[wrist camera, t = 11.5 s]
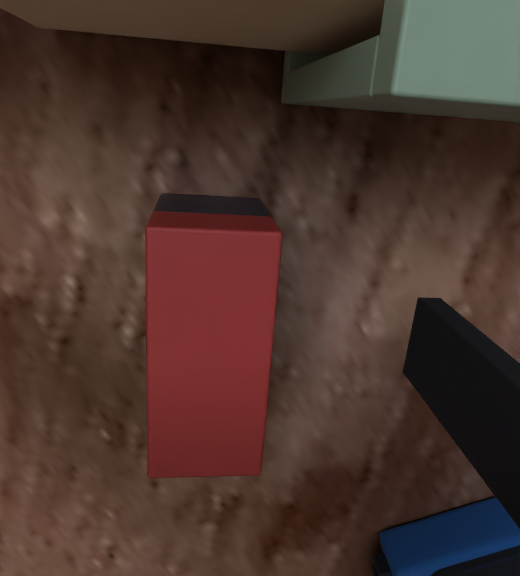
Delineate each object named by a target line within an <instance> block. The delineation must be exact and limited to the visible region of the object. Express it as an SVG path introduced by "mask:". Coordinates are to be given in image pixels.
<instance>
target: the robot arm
mask: <svg viewBox="0 0 520 576" xmlns="http://www.w3.org/2000/svg"><path fill="white" fill-rule="evenodd" d="M403 373H404V374H405V375H406V377H407V378H408V379H409V381H410V382H411V383H412V385H413V386H414V388H415V389H416V390H417V392H418V393H419V394H420V396H421V397H422V398H423V400H424V401H425V402H426V404H427V405H428V406H429V408H430V409H431V410H432V412H433V413H434V414H435V416H436V417H437V418H438V420H439V421H440V422H441V424H442V425H443V426H444V428H445V429H446V431H447V432H448V433H449V435H450V436H451V437H452V439H453V440H454V441H455V443H456V444H457V445H458V447H459V448H460V449H461V451H462V452H463V453H464V455H465V456H466V457H467V459H468V460H469V461H470V463H471V464H472V465H473V467H474V468H475V469H476V471H477V472H478V474H479V475H480V476H481V478H482V479H483V480H484V482H485V483H486V484H487V486H488V487H489V488H490V490H491V491H492V492H493V494H494V495H495V496H496V498H497V499H498V500H499V502H500V503H501V504H502V506H503V507H504V508H505V510H506V511H507V512H508V514H509V515H510V517H511V518H512V519H513V521H514V522H515V523H516V525H517V526H518V527H519V529H520V363H518V362H517V361H516V360H515V359H513V358H512V357H511V356H510V355H509V354H507V353H506V352H505V351H504V350H503V349H501V348H500V347H499V346H498V345H496V344H495V343H494V342H493V341H492V340H490V339H489V338H488V337H487V336H486V335H484V334H483V333H482V332H481V331H479V330H478V329H477V328H476V327H475V326H473V325H472V324H471V323H470V322H469V321H467V320H466V319H465V318H464V317H463V316H461V315H460V314H459V313H458V312H456V311H455V310H454V309H453V308H452V307H450V306H449V305H448V304H447V303H446V302H444V301H443V300H442V299H441V298H418V300H417V305H416V310H415V315H414V320H413V325H412V329H411V334H410V339H409V344H408V349H407V354H406V359H405V364H404V369H403Z"/></svg>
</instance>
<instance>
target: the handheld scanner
mask: <svg viewBox="0 0 520 576" xmlns="http://www.w3.org/2000/svg"><path fill="white" fill-rule="evenodd" d="M379 539H380V543H381V547H382V551H383V553H381V554H377V555H374V557H373V561H374V565H372V570H373V574H374V576H520V529H519V527H518V526H517V525H516V523H515V522H514V521H513V519H512V518H511V517H510V515H509V514H508V512H507V511H506V510H505V508H504V507H503V506H502V504H501V503H500V502H499V500H498V499H497V498H496V497H493V498H490V499H486V500H483V501H480V502H476V503H473V504H470V505H467V506H463V507H460V508H457V509H453V510H450V511H447V512H444V513H440V514H437V515H434V516H430V517H427V518H424V519H421V520H417V521H414V522H411V523H407V524H404V525H401V526H398V527H394V528H391V529H388V530H384V531H382V532H380V533H379Z"/></svg>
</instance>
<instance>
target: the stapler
mask: <svg viewBox="0 0 520 576" xmlns="http://www.w3.org/2000/svg"><path fill="white" fill-rule="evenodd" d="M145 246H146V360H147V474H148V477H149V478H168V477H209V476H250V475H260V474H261V470H262V459H263V448H264V437H265V425H266V414H267V403H268V392H269V381H270V369H271V358H272V347H273V336H274V325H275V313H276V302H277V291H278V280H279V269H280V257H281V246H282V232H281V231H280V229H279V228H278V226H277V225H276V223H275V222H274V220H273V219H272V217H271V216H270V214H269V213H268V211H267V210H266V208H265V207H264V205H263V204H262V202H261V201H260V199H258V198H241V197H222V196H203V195H184V194H165V193H163V194H161V196H160V198H159V200H158V202H157V204H156V207H155V209H154V211H153V213H152V216H151V218H150V220H149V222H148V224H147V227H146V229H145Z"/></svg>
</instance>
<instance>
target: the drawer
mask: <svg viewBox="0 0 520 576" xmlns="http://www.w3.org/2000/svg"><path fill="white" fill-rule="evenodd" d="M384 2H385V0H0V8H1V9H3V10H5V11H7V12H9V13H11V14H13V15H15V16H17V17H19V18H21V19H23V20H25V21H27V22H28V23H29V24H31V25H33V26H35V27H37V28H47V29H58V30H69V31H79V32H90V33H101V34H111V35H122V36H133V37H143V38H154V39H164V40H175V41H186V42H196V43H207V44H218V45H228V46H239V47H250V48H260V49H271V50H281V51H292V52H303V53H313V54H324V55H331V54H334V53H336V52H339V51H341V50H344V49H346V48H349V47H351V46H354V45H356V44H358V43H361V42H363V41H366V40H368V39H371V38H373V37H376V36H378V35H380V31H381V24H382V17H383V10H384Z"/></svg>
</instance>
